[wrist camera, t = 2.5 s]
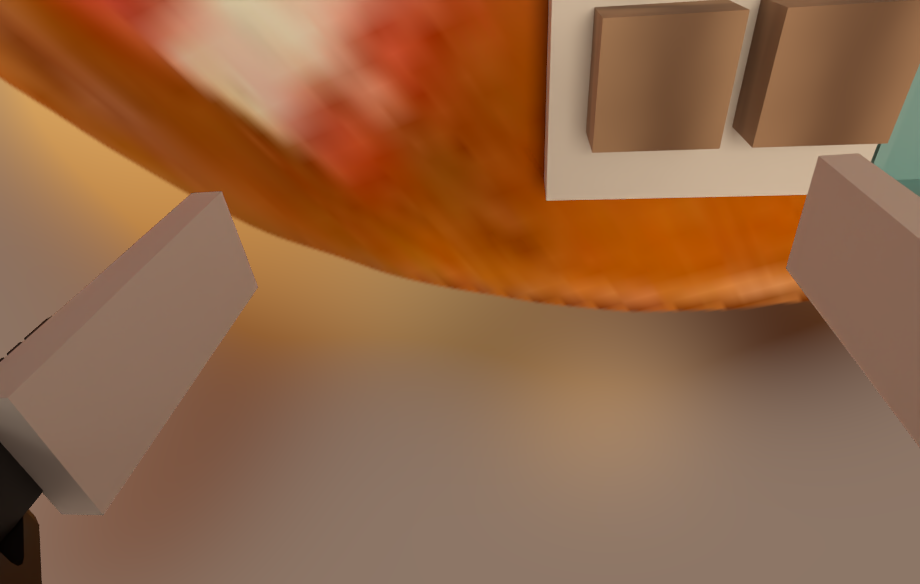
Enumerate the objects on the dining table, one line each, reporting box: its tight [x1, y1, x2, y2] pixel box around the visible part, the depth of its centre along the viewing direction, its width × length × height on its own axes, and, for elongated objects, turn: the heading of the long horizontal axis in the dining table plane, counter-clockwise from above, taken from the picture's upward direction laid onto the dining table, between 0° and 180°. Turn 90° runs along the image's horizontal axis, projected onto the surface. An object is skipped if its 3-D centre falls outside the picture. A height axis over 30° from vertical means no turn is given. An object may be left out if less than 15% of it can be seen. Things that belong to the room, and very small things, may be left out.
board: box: [544, 0, 878, 201], centre depth 28 cm, size 17×14×3 cm
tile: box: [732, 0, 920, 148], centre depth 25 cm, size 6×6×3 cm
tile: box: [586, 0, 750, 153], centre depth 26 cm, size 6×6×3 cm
